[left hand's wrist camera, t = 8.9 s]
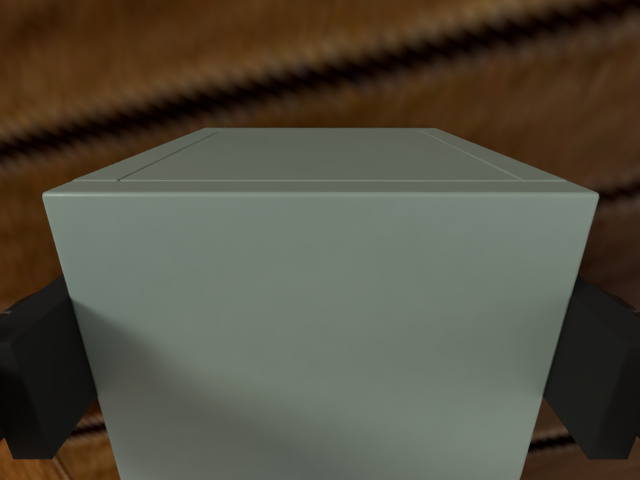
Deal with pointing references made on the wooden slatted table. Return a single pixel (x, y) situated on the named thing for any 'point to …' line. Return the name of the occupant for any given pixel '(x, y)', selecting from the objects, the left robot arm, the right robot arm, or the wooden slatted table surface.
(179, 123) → the wooden slatted table surface
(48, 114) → the wooden slatted table surface
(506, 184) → the cabinet
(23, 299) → the left robot arm
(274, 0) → the wooden slatted table surface
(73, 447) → the wooden slatted table surface
